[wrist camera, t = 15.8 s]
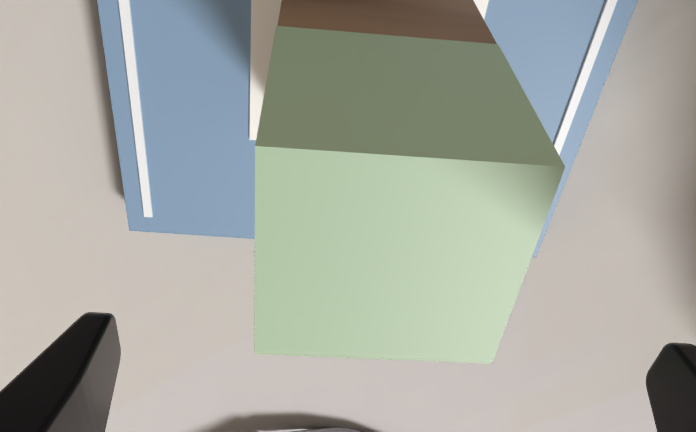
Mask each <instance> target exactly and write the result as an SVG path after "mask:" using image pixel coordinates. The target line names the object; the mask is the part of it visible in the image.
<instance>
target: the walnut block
mask: <svg viewBox="0 0 696 432" xmlns="http://www.w3.org/2000/svg"><path fill="white" fill-rule="evenodd" d="M277 26H285V27H297V28H309V29H321V30H333V31H345V32H357V33H369V34H381V35H393V36H405V37H417V38H429V39H441V40H453V41H465V42H477V43H489V44H497V43H496V41H495V39H494V37H493V36H492V34H491V32H490V30H489V28H488V26H487V25H486V23H485V21H484V19H483V17H482V15H481V14H480V12H479V10H478V8H477V6H476V4H475V3H474V1H473V0H282V1H281V7H280V13H279V19H278V25H277Z"/></svg>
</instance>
